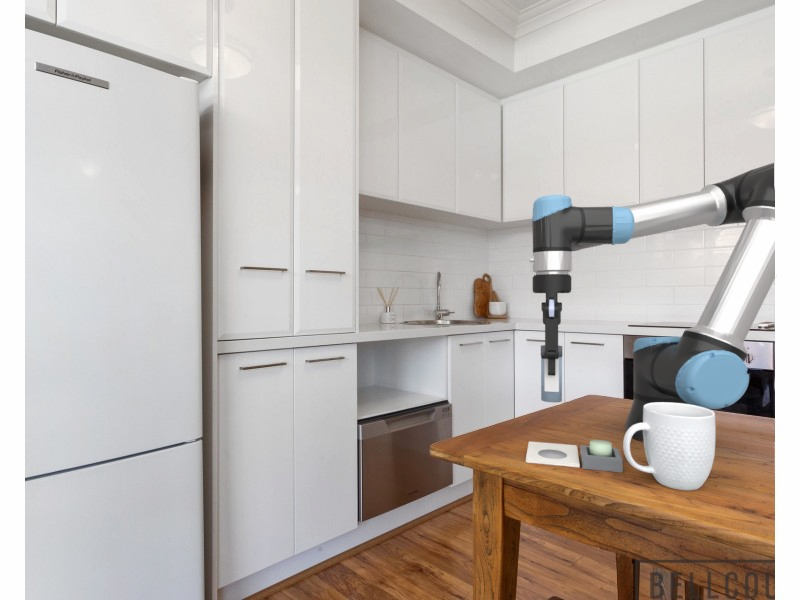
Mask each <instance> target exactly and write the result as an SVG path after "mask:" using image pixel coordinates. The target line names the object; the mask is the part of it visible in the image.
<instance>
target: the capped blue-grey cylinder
mask: <svg viewBox="0 0 800 600" xmlns="http://www.w3.org/2000/svg"><path fill="white" fill-rule="evenodd" d="M544 352H545V344H544V345H543V344H542V345H540V356H541V355H544ZM558 352H559V357H558V359H559V392H549V391H545V359H541V358H540V359H541V360H540V361H541V362H540V369H541V371H540V373H541V374H540V379H541V380H540V382H541V383H540V386H541V387H540V394H541V395H540V396H541V397H540V400H541V401H542V402H546V403H562V401H563V345H558Z"/></svg>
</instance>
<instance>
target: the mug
mask: <svg viewBox="0 0 800 600" xmlns="http://www.w3.org/2000/svg"><path fill="white" fill-rule="evenodd" d="M716 428H717V427H716V414H715V412H714V410H713V409H708V408H704V407H700V406H695V405H690V404H682V403H670V402H655V403H648V404H645V405H644V407H643V423H637V424H634V425H633V426H631V427H630V428H629V429H628V430H627V432H625V434H624V436H623V439H622V440H623V441H622V442H623V443H622V447H623V448H622V449H623V453H624V456H625V459H626V460H627V462H628V463H629V464H630V466H632V467H633V468H635V469H636V470H638V471H641V472H643V473H648V474H651V475H653V477H654V479H655V481H657V482H658V483H659V484H660V485H662V486H664V487H667V488H669V489H672V490H673V489H675V490H679V491H696V490H698V489H700V488H701V487H702V486H703V485H704V483H705V482H706V481H707V479H708V477H709V475H710V473H711V470H712V468H713V464H714V461H715V460H714V459H715V454H716V431H717V430H716ZM639 430H643V439H644V440H643V441H642V442H643V447H644V452H645V454H644V455H645V457H646V461H647V464H648V465H641V464H640V463H637V462H636V461H635V460H634V458H633V456H632V453H631V440H632V436H633V434H634V433H635V432H637V431H639Z"/></svg>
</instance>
